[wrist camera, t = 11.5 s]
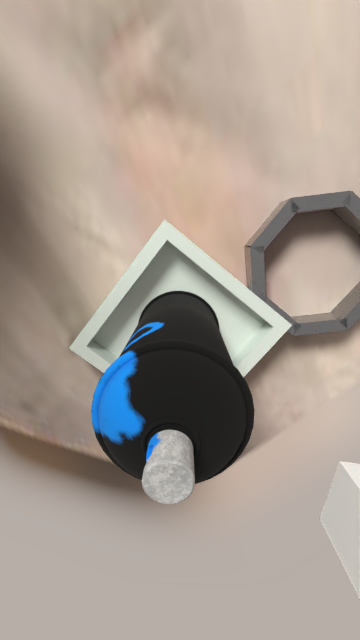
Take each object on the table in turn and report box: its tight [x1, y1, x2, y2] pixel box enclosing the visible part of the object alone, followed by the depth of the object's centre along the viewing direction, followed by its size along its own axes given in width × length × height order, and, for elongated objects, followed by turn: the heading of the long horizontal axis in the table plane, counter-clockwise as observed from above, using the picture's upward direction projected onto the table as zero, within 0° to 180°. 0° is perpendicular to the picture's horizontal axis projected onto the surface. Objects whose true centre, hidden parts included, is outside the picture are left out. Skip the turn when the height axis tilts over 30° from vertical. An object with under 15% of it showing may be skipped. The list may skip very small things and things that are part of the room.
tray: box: [69, 220, 292, 377], centre depth 30 cm, size 15×15×3 cm
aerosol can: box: [91, 291, 254, 504], centre depth 21 cm, size 8×8×20 cm
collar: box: [245, 191, 360, 336], centre depth 28 cm, size 12×12×2 cm
